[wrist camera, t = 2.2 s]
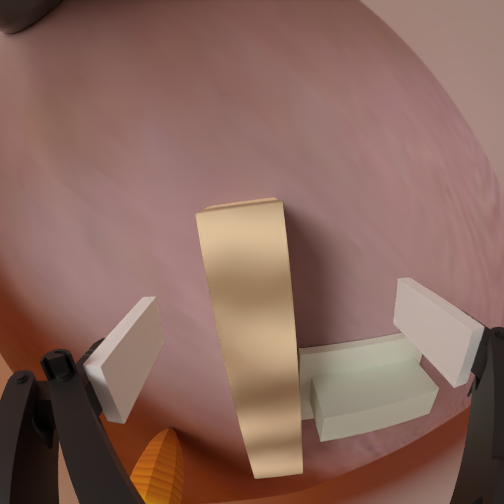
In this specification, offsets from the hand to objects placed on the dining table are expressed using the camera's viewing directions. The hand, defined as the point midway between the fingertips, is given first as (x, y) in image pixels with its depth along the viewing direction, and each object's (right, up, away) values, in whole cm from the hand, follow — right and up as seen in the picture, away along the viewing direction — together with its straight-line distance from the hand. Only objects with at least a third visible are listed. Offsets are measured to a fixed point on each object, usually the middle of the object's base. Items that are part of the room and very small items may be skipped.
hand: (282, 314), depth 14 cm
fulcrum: (+9, -8, +9) cm, 15 cm away
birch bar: (-1, -5, +8) cm, 10 cm away
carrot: (-10, -15, +10) cm, 21 cm away
